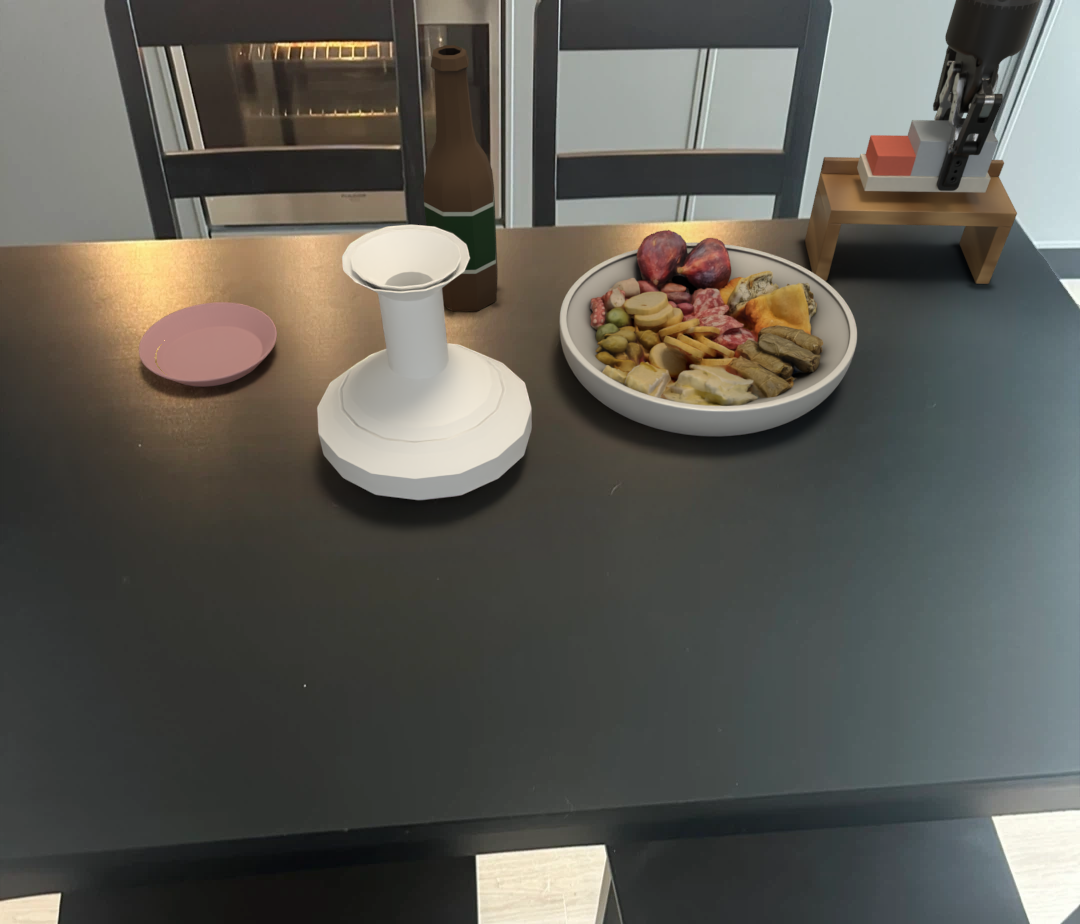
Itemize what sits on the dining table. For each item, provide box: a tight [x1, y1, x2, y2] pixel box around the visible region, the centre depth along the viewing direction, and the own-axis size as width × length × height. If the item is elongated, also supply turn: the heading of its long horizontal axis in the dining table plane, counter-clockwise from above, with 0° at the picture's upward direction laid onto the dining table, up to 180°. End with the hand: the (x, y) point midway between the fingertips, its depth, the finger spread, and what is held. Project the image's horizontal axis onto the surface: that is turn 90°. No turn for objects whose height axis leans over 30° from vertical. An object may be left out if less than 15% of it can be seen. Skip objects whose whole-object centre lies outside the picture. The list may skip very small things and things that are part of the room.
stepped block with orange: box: [857, 119, 999, 192], centre depth 101 cm, size 13×5×5 cm, turn 88°
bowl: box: [559, 229, 858, 437], centre depth 96 cm, size 30×30×8 cm
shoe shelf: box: [804, 156, 1018, 285], centre depth 106 cm, size 20×9×10 cm, turn 87°
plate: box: [138, 301, 278, 387], centre depth 99 cm, size 14×14×2 cm
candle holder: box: [316, 224, 533, 501], centre depth 82 cm, size 20×20×19 cm
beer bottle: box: [423, 44, 498, 312], centre depth 97 cm, size 8×8×24 cm
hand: (940, 175), depth 102 cm, fingers closed on stepped block with orange, 5 cm apart
